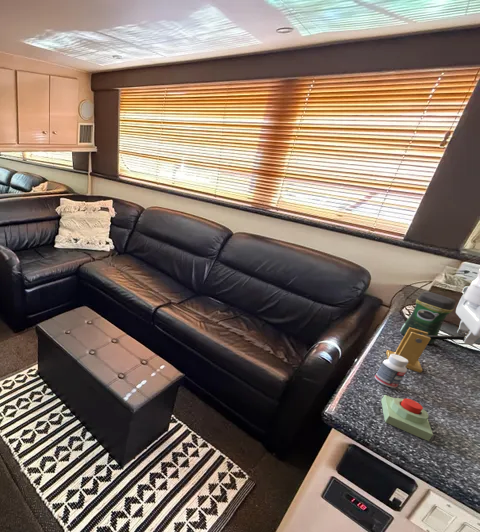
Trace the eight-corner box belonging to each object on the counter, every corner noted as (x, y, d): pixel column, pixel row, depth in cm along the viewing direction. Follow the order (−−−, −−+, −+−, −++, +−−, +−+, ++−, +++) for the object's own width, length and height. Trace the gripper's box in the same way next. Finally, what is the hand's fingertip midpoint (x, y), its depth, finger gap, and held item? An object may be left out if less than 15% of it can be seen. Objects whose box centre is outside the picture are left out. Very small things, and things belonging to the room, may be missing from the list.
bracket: (416, 362, 107) (434, 333, 103) (420, 373, 102) (439, 342, 97) (385, 352, 111) (401, 323, 107) (388, 361, 106) (404, 331, 102)
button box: (380, 400, 88) (387, 389, 86) (420, 416, 83) (428, 405, 82) (384, 422, 80) (392, 410, 79) (428, 441, 76) (437, 429, 74)
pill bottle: (391, 390, 92) (406, 365, 89) (370, 378, 97) (383, 354, 93) (400, 386, 94) (415, 361, 91) (379, 374, 99) (392, 351, 96)
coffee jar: (435, 342, 122) (461, 299, 115) (429, 346, 118) (455, 302, 111) (403, 329, 130) (425, 288, 123) (395, 333, 126) (418, 291, 119)
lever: (470, 338, 97) (469, 330, 97) (475, 345, 94) (474, 337, 93) (410, 337, 106) (409, 330, 106) (412, 343, 102) (411, 336, 102)
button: (399, 401, 83) (402, 396, 82) (418, 408, 81) (421, 403, 80) (401, 409, 80) (404, 403, 79) (420, 417, 78) (424, 411, 77)
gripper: (520, 314, 82) (491, 358, 87) (492, 291, 97) (469, 330, 102) (484, 306, 86) (458, 348, 90) (462, 285, 101) (441, 323, 106)
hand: (463, 339), depth 96 cm, fingers closed on lever, 5 cm apart
